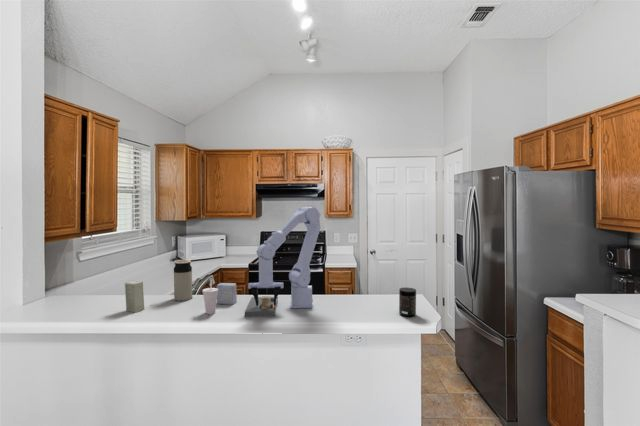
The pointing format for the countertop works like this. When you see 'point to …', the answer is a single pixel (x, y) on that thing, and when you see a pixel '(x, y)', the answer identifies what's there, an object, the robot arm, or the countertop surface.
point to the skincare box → (134, 296)
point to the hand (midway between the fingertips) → (266, 305)
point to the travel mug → (182, 280)
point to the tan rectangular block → (266, 302)
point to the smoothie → (210, 298)
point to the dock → (257, 311)
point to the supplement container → (407, 302)
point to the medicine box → (226, 293)
